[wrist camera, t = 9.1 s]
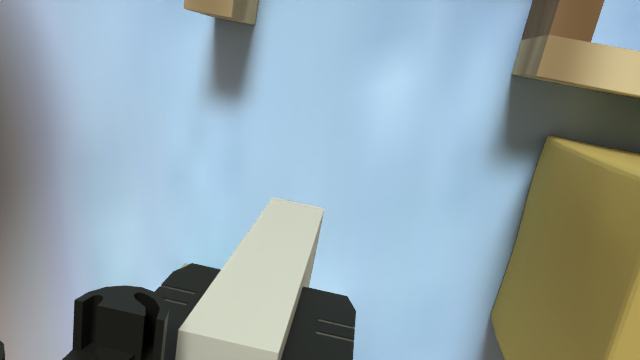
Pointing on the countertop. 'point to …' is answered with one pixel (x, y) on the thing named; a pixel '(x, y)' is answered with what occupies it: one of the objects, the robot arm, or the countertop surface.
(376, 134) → the countertop surface
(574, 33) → the trap lane
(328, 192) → the countertop surface
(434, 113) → the countertop surface
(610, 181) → the cheese
